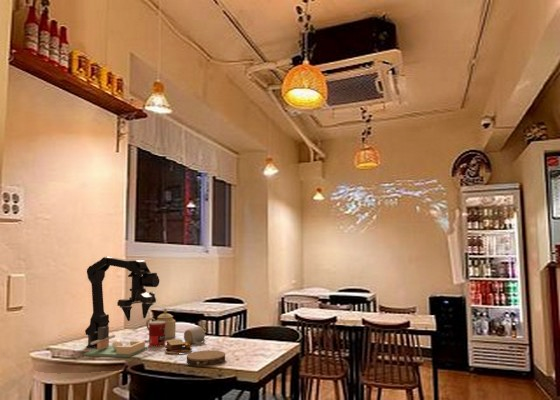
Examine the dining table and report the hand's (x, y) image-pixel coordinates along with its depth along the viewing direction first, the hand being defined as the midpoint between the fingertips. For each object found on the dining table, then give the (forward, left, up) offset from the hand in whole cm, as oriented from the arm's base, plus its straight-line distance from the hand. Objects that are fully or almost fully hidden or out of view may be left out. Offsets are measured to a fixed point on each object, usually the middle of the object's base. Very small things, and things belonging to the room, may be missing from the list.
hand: (136, 319), depth 215 cm
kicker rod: (-13, -8, -12) cm, 19 cm away
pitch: (-6, -8, -14) cm, 17 cm away
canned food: (+5, +10, -14) cm, 18 cm away
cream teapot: (-1, +28, -14) cm, 31 cm away
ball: (-5, -8, -11) cm, 14 cm away
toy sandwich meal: (+22, -2, -14) cm, 26 cm away
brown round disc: (+42, -17, -14) cm, 48 cm away
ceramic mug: (+23, +16, -14) cm, 32 cm away
